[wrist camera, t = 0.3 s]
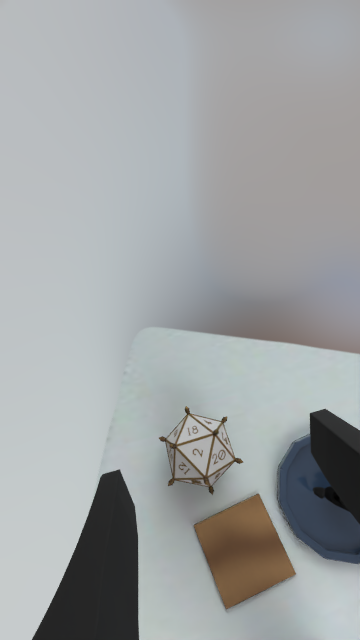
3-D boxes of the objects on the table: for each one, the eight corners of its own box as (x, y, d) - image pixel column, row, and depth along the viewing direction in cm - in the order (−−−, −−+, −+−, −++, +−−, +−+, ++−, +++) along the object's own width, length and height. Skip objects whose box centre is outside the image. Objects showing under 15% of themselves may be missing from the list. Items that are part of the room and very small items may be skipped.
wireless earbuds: (303, 488, 36) (318, 499, 31) (309, 467, 37) (325, 474, 32) (365, 517, 35) (391, 533, 30) (370, 494, 35) (396, 506, 30)
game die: (204, 429, 43) (239, 391, 36) (225, 497, 37) (270, 467, 31) (142, 435, 39) (169, 394, 32) (155, 511, 34) (189, 480, 27)
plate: (421, 526, 34) (428, 529, 33) (315, 579, 34) (319, 585, 33) (352, 412, 38) (356, 412, 37) (257, 458, 38) (258, 459, 37)
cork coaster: (295, 572, 34) (296, 574, 34) (226, 607, 33) (226, 609, 33) (258, 493, 37) (258, 494, 36) (193, 524, 36) (193, 525, 36)
